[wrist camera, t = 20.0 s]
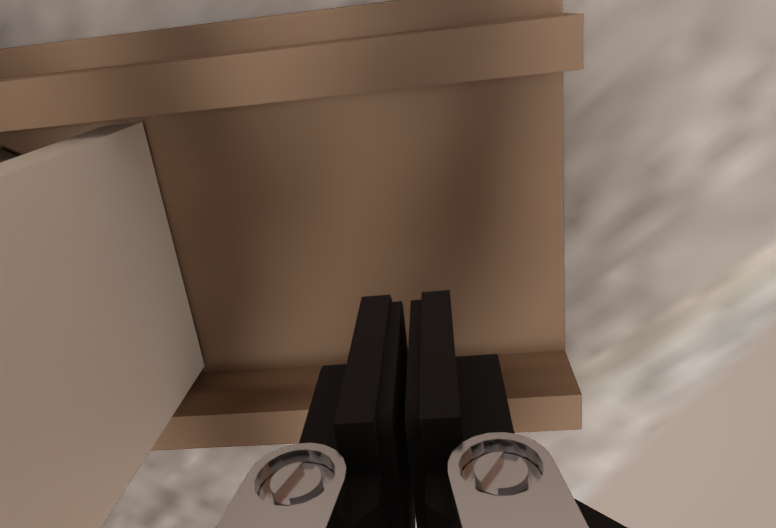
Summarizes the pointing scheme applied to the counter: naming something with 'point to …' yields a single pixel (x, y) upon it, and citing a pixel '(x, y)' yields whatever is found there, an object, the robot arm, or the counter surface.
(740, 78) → the counter surface
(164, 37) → the wooden crate tray
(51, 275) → the rectangular block
